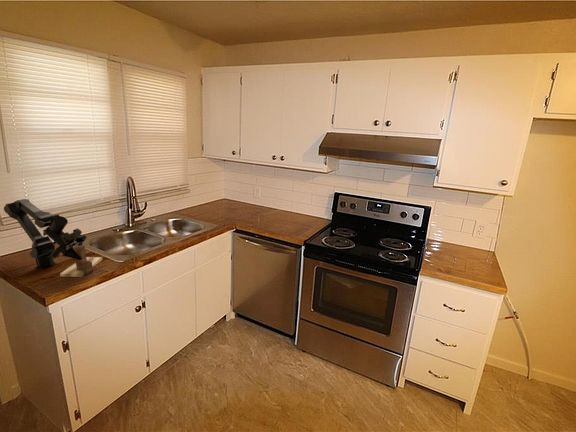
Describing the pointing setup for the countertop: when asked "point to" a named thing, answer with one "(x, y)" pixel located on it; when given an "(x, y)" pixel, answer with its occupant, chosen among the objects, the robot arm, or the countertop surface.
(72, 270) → the birch board
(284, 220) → the countertop surface
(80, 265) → the marking gauge
